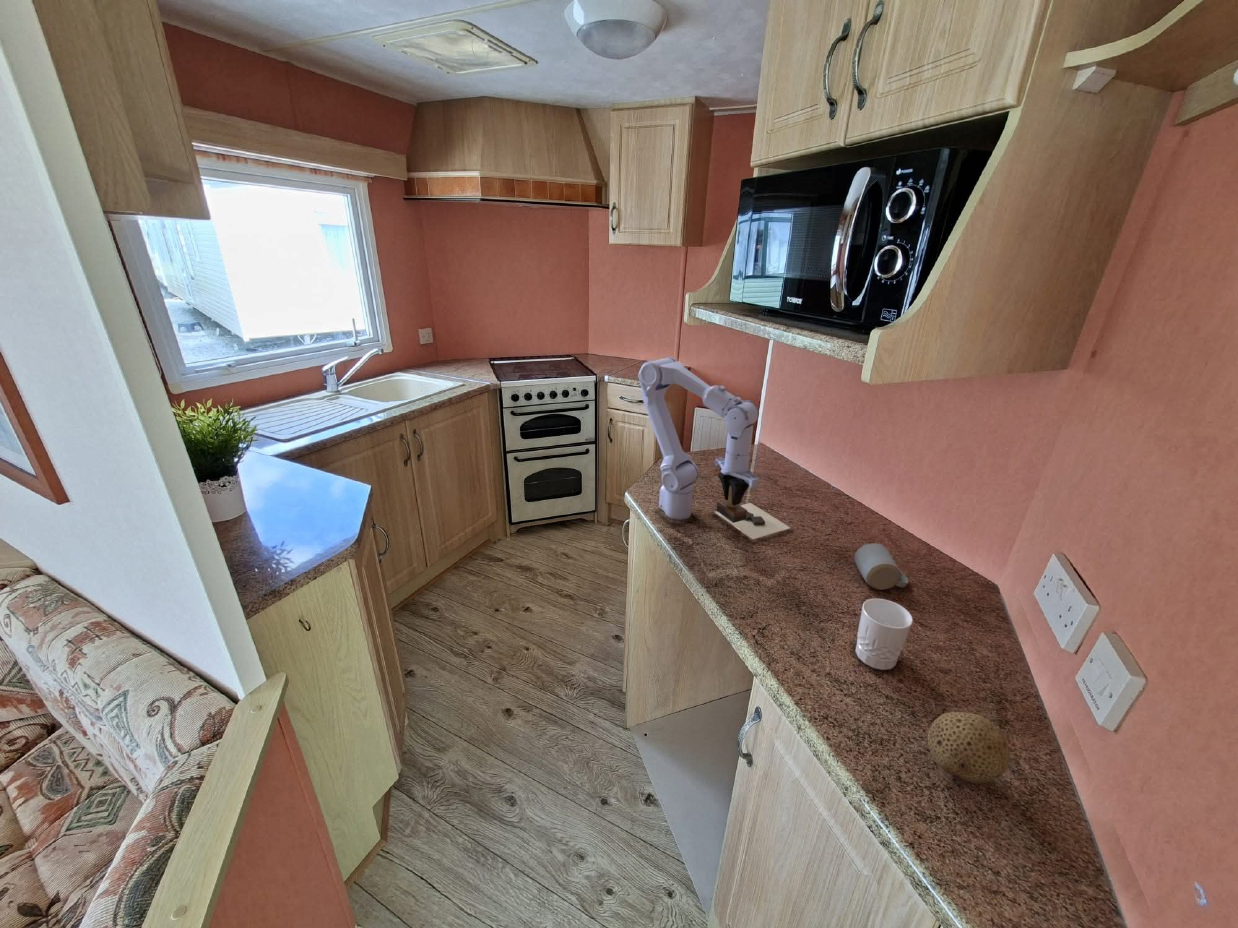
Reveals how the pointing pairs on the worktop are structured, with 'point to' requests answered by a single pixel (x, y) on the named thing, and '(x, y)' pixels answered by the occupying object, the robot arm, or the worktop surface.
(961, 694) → the worktop surface
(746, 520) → the shell bit
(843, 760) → the worktop surface
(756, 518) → the shell bit
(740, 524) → the tile
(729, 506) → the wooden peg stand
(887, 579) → the ceramic mug
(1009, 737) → the worktop surface
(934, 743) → the natural sponge
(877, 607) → the white cup
